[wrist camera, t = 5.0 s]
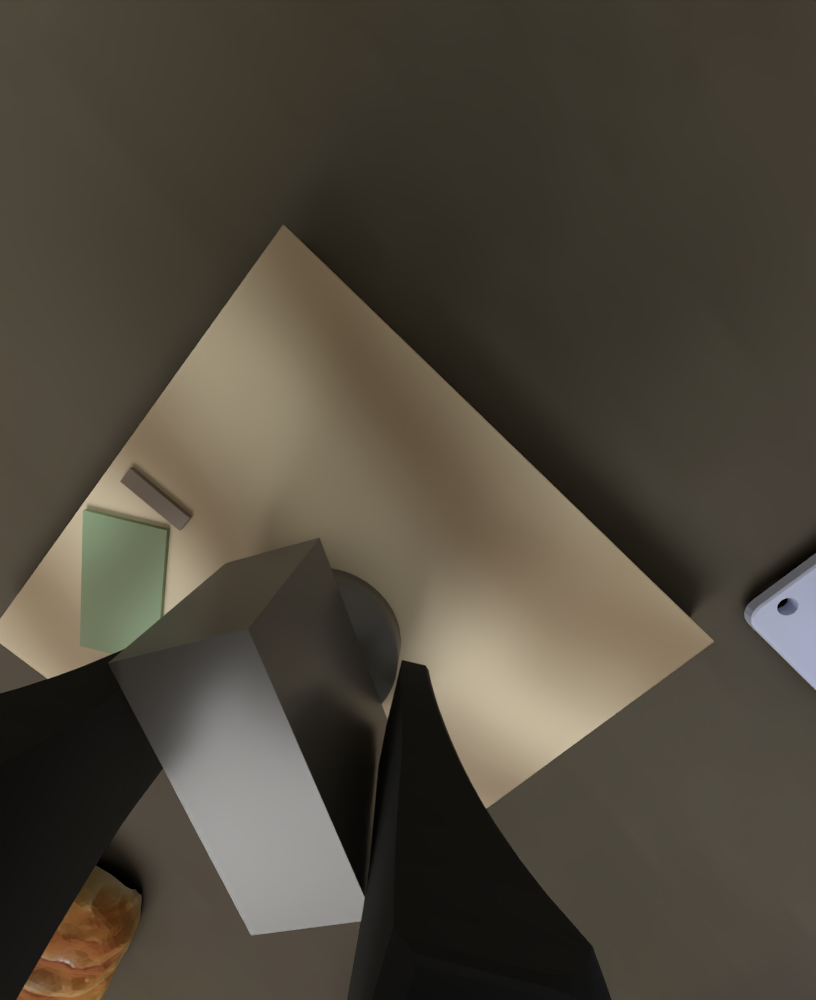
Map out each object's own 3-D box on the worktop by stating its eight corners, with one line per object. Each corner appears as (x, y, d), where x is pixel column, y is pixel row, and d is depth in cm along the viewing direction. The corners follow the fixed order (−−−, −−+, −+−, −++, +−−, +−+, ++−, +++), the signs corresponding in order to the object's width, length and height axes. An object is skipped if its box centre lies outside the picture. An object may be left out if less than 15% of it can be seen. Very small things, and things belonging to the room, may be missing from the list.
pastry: (59, 806, 18) (-41, 919, 14) (193, 904, 19) (132, 1034, 15) (-51, 913, 20) (-162, 1034, 16) (73, 996, 21) (-5, 1128, 17)
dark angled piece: (361, 515, 12) (300, 616, 7) (429, 714, 14) (419, 913, 9) (55, 600, 14) (-174, 731, 9) (147, 770, 15) (-3, 968, 10)
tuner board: (299, 239, 12) (280, 222, 10) (690, 618, 13) (717, 644, 12) (23, 615, 15) (-16, 637, 14) (358, 871, 17) (351, 911, 16)
